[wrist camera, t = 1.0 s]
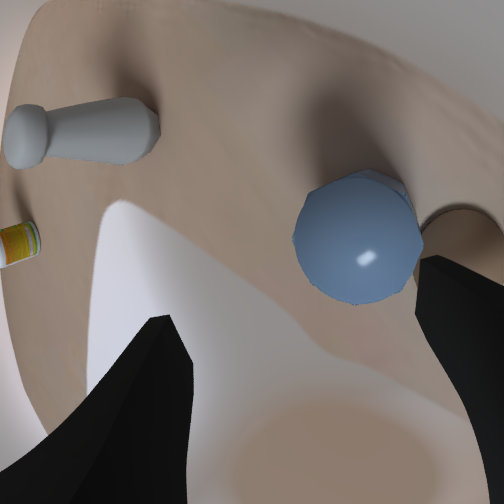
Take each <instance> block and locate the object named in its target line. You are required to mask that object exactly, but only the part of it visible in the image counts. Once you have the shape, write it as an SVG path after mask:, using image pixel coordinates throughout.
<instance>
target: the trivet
mask: <svg viewBox="0 0 504 504" xmlns="http://www.w3.org/2000/svg"><path fill="white" fill-rule="evenodd" d="M421 235H422V239H423V243H424V248H423V250H422V252H421V254H420V256H419V258H418V260H417V263H416V266H415V268H414V271H413V274H414V279H415V282H416V285H417V287H418V280H419V267H420V259H423V258H426V257H430V256H434V255H440V256H443V257H445V258H447V259H450V260H452V261H454V262H456V263H458V264H461V265H463V266H465V267H467V268H469V269H471V270H473V271H475V272H477V273H479V274H481V275H483V276H485V277H487V278H489V279H491V280H493V281H495V282H497V283H499V284H501V285H503V283H504V235H503V233H502V232H501V230H500V229H499V227H498V226H497V225H496V224H495V223H494V222H493V221H492V220H491V219H490V218H488V217H487V216H485V215H484V214H482V213H480V212H477V211H474V210H469V209H457V210H452V211H449V212H446V213H444V214H442V215H440V216H438V217H437V218H435V219H434V220H433V221H432V222H430V223H429V224H428V225H427V227H426V228H425V229H424V230H423V232H422V233H421Z"/></svg>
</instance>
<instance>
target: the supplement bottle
mask: <svg viewBox="0 0 504 504" xmlns="http://www.w3.org/2000/svg"><path fill="white" fill-rule="evenodd" d="M39 251H40V238H39V234H38V231H37V229H36V227H35V225H34V224H33V223H32V222H30V221H28V222H24V223H21V224H18V225H14V226H11V227H8V228H4V229H1V230H0V268H4V267H7V266H10V265H12V264H15V263H18V262H20V261H23V260H26V259H29V258H32V257H34V256H36V255H38V254H39Z"/></svg>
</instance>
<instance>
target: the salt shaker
mask: <svg viewBox="0 0 504 504" xmlns="http://www.w3.org/2000/svg"><path fill="white" fill-rule="evenodd" d="M159 137H160V128H159V120H158V115H156V114H155V113H154V112H153V111H151V110H150V109H149V108H147V107H146V106H145V105H144V104H143V103H142V102H141V101H140V100H138V99H135V98H130V97H119V98H112V99H106V100H100V101H94V102H89V103H84V104H78V105H73V106H69V107H64V108H60V109H55V110H51V111H47V112H46V111H45V110H44V108H43V107H41V106H38V105H32V104H24V105H20V106H17V107H16V108H15V109H14V110H13V111H12V113H11V114H10V115H9V116H8V119H7V121H6V124H5V129H4V140H3V146H4V153H5V157H6V159H7V162H8V163H9V164H10V165H11V166H12V167H14V168H15V169H28V168H32V167H34V166H36V165H38V164H40V163H41V162H42V161H43V159H44V157H59V158H68V159H77V160H86V161H94V162H102V163H110V164H117V165H125V164H129V163H132V162H135V161H138V160H139V159H141V158H142V157H144V156H145V155H147V154H148V153H150V152H151V150H152V149H153V147H154V145H155V144H156V142H157V140H158V139H159Z"/></svg>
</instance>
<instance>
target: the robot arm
mask: <svg viewBox="0 0 504 504" xmlns="http://www.w3.org/2000/svg"><path fill="white" fill-rule="evenodd" d="M415 315H416V317H417V320H418V322H419V324H420V326H421V329H422V331H423V333H424V335H425V337H426V339H427V341H428V343H429V345H430V347H431V348H432V350H433V352H434V353H435V355H436V357H437V358H438V360H439V362H440V363H441V365H442V367H443V368H444V370H445V372H446V373H447V375H448V377H449V378H450V380H451V382H452V384H453V385H454V387H455V389H456V391H457V392H458V394H459V396H460V398H461V400H462V402H463V404H464V406H465V409H466V411H467V414H468V416H469V419H470V422H471V424H472V427H473V430H474V433H475V436H476V439H477V442H478V446H479V449H480V452H481V456H482V460H483V464H484V469H485V473H486V478H487V484H488V490H489V499H490V504H504V286H503V285H501V284H499V283H497V282H495V281H493V280H491V279H489V278H487V277H485V276H483V275H481V274H479V273H477V272H475V271H473V270H471V269H469V268H467V267H465V266H463V265H461V264H458V263H456V262H454V261H452V260H450V259H447V258H445V257H443V256H440V255H434V256H430V257H426V258H423V259H420V267H419V280H418V291H417V300H416V309H415ZM193 380H194V377H193V362H192V360H191V358H190V356H189V354H188V352H187V350H186V348H185V346H184V344H183V342H182V340H181V338H180V336H179V334H178V332H177V330H176V327H175V325H174V323H173V321H172V319H171V317H170V315H163V316H158V317H152V318H149V319H148V321H147V322H146V323H145V324H144V325H143V327H142V328H141V329H140V330H139V332H138V333H137V334H136V336H135V337H134V338H133V340H132V341H131V342H130V343H129V345H128V346H127V347H126V349H125V350H124V351H123V352H122V354H121V355H120V356H119V358H118V359H117V360H116V362H115V363H114V364H113V366H112V367H111V368H110V369H109V371H108V372H107V373H106V374H105V375H104V377H103V378H102V379H101V380H100V381H99V383H98V384H97V385H96V386H95V388H94V389H93V390H92V391H91V392H90V394H89V395H88V396H87V397H86V398H85V399H84V401H83V402H82V403H81V404H80V405H79V406H78V407H77V408H76V409H75V410H74V411H73V412H72V413H71V414H70V415H69V417H68V418H67V419H66V420H65V421H64V422H63V423H62V424H61V425H60V426H58V427H57V428H56V429H55V430H54V431H53V432H52V433H51V434H49V435H48V436H47V437H46V438H45V439H44V440H43V441H41V442H40V443H39V444H38V445H37V446H36V447H35V448H34V449H32V450H31V451H30V452H28V453H27V454H26V455H24V456H23V457H22V458H20V459H19V460H18V461H16V462H15V463H13V464H12V465H10V466H9V467H8V468H6V469H4V470H3V471H1V472H0V504H187V486H186V485H187V484H186V464H187V451H188V442H189V441H188V440H189V432H190V423H191V414H192V405H193V395H194V381H193Z"/></svg>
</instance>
